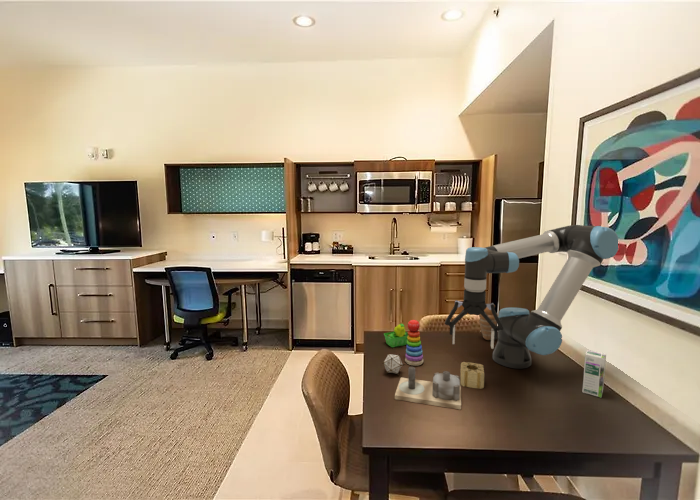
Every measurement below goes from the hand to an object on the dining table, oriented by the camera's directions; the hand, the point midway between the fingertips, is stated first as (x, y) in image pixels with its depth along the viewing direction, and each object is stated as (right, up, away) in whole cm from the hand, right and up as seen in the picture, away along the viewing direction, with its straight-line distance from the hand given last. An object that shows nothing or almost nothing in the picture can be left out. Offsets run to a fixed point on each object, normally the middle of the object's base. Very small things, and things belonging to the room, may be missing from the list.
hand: (472, 345), depth 128 cm
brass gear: (0, -15, +2) cm, 15 cm away
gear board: (-18, -16, -6) cm, 25 cm away
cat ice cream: (+23, -9, +43) cm, 49 cm away
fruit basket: (-23, -11, +38) cm, 46 cm away
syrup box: (+41, -15, -6) cm, 44 cm away
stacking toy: (-18, -13, +19) cm, 29 cm away
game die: (-29, -14, +10) cm, 33 cm away
